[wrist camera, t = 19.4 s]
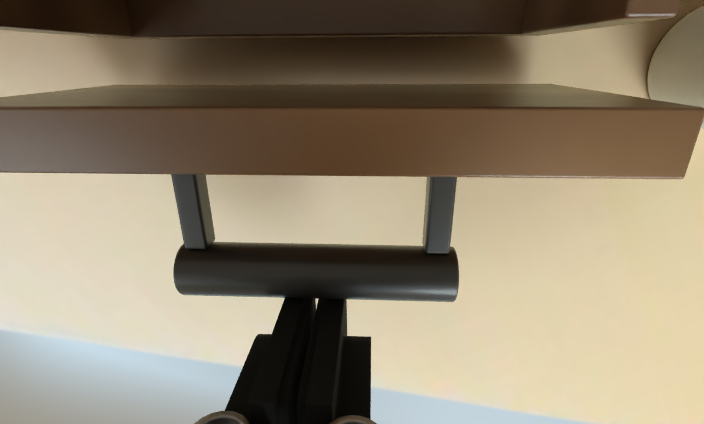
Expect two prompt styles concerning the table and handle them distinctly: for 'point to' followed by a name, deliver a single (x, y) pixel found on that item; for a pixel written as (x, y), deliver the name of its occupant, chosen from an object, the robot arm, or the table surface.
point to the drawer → (337, 129)
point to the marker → (680, 63)
